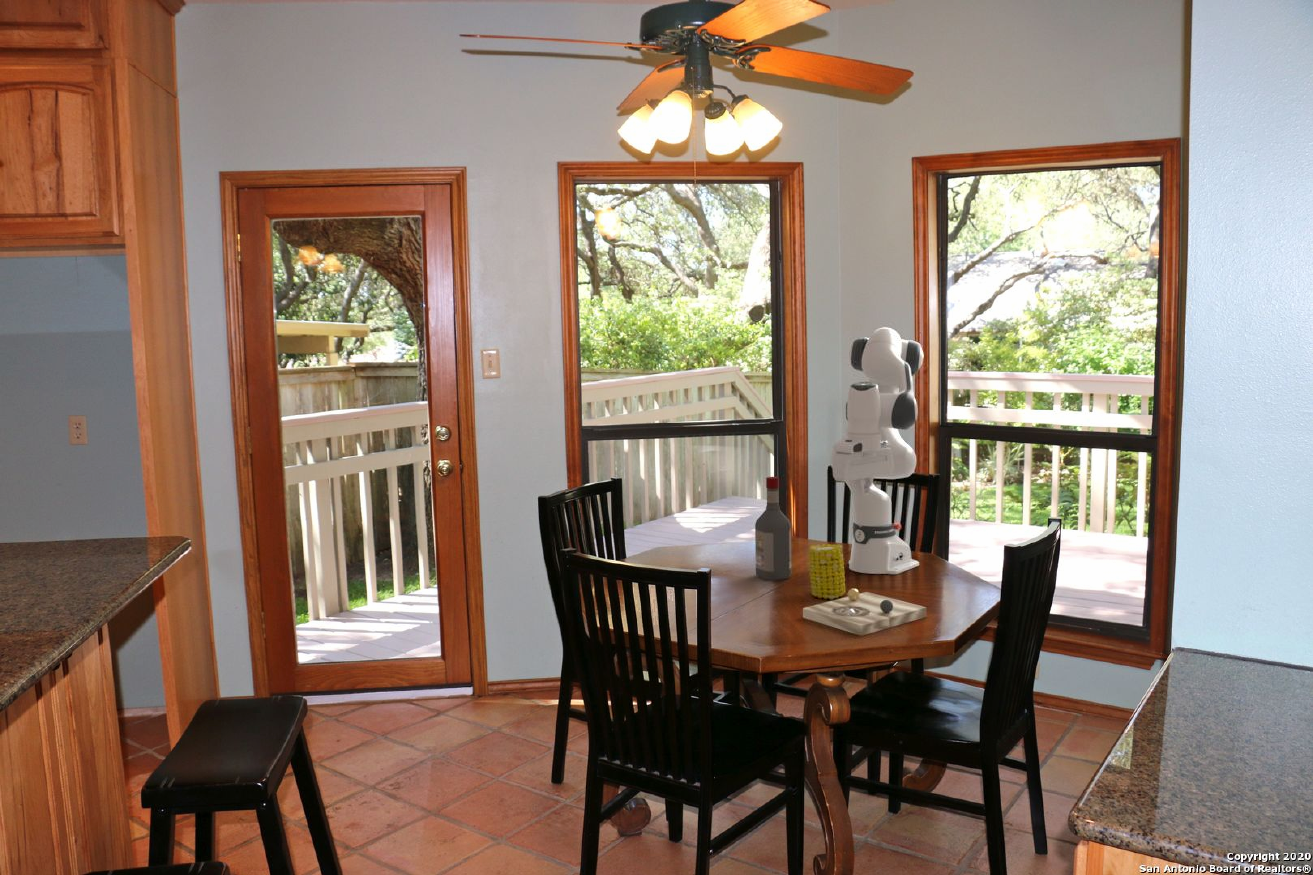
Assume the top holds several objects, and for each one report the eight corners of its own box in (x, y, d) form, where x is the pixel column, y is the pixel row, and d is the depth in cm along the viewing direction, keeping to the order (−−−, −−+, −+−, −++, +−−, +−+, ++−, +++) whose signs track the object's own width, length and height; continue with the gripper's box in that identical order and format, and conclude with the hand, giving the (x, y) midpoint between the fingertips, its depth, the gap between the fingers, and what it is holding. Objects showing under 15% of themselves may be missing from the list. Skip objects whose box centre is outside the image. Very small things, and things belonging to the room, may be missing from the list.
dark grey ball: (885, 609, 257) (886, 597, 256) (895, 612, 254) (895, 600, 254) (877, 612, 255) (877, 599, 254) (887, 615, 252) (887, 602, 252)
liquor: (768, 582, 297) (766, 480, 293) (752, 575, 305) (751, 476, 302) (794, 578, 300) (793, 478, 297) (778, 571, 309) (777, 474, 305)
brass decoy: (853, 598, 268) (853, 586, 268) (862, 600, 266) (862, 588, 265) (844, 600, 266) (844, 588, 266) (853, 602, 264) (853, 590, 263)
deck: (866, 600, 274) (866, 591, 274) (926, 616, 258) (926, 607, 258) (802, 617, 260) (802, 608, 260) (861, 635, 244) (861, 625, 244)
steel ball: (850, 610, 259) (840, 609, 257) (858, 607, 256) (847, 607, 254) (851, 622, 257) (841, 622, 256) (859, 620, 255) (849, 620, 253)
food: (825, 607, 274) (805, 600, 284) (860, 592, 279) (840, 585, 288) (813, 554, 272) (793, 549, 281) (848, 540, 276) (828, 535, 286)
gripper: (881, 439, 279) (881, 488, 280) (828, 445, 267) (828, 497, 269) (899, 440, 274) (898, 491, 275) (846, 447, 262) (846, 500, 263)
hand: (863, 494), depth 272 cm, fingers closed
